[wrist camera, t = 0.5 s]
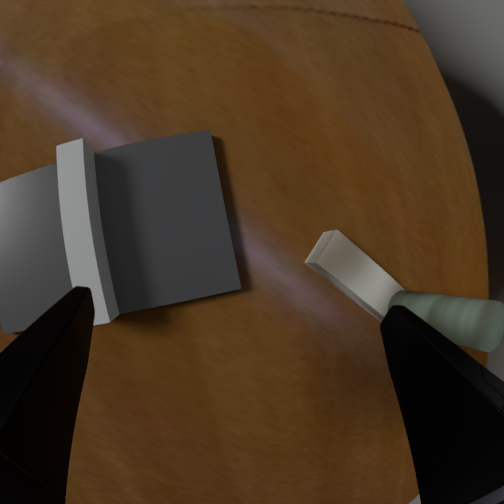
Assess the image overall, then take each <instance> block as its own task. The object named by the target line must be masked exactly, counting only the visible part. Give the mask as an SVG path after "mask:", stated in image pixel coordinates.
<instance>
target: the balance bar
mask: <svg viewBox="0 0 504 504" xmlns="http://www.w3.org/2000/svg"><path fill="white" fill-rule="evenodd" d="M304 263H305V264H307V265H308V266H309V267H311V268H312V269H313V270H315V271H316V272H317V273H318V274H320V275H321V276H322V277H324V278H325V279H326V280H328V281H329V282H330V283H331V284H333V285H334V286H335V287H337V288H338V289H339V290H341V291H342V292H343V293H344V294H346V295H347V296H348V297H349V298H351V299H352V300H353V301H355V302H356V303H357V304H358V305H360V306H361V307H362V308H364V309H365V310H366V311H367V312H369V313H370V314H371V315H372V316H374V317H375V318H376V319H378V320H379V321H380V322H382V320H383V318H384V317H385V315H386V313H387V312H388V310H389V308H390V307H391V306H392V305H403V306H405V307H406V308H408V309H409V310H411V311H412V312H413V313H415V314H416V315H417V316H419V317H420V318H421V319H423V320H424V321H425V322H427V323H428V324H429V325H431V326H432V327H433V328H435V329H436V330H437V331H439V332H440V333H441V334H443V335H444V336H445V337H447V338H448V339H449V340H451V341H452V342H453V343H454V344H458V345H462V346H465V347H469V348H473V349H477V350H480V351H484V352H492V351H493V350H495V349H496V348H497V346H498V345H499V343H500V341H501V339H502V337H503V333H504V305H503V304H502V303H501V302H499V301H492V300H483V299H474V298H465V297H457V296H448V295H440V294H431V293H423V292H415V291H407V290H405V289H404V288H403V287H402V286H401V285H399V284H398V283H397V282H396V281H395V280H394V279H393V278H392V277H391V276H390V275H389V274H387V273H386V272H385V271H384V270H383V269H382V268H381V267H380V266H379V265H377V264H376V263H375V262H374V261H373V260H372V259H371V258H370V257H368V256H367V255H366V254H365V253H364V252H363V251H362V250H360V249H359V248H358V247H357V246H356V245H355V244H353V243H352V242H351V241H350V240H349V239H348V238H346V237H345V236H344V235H343V234H342V233H340V232H339V231H338V230H332V231H327V232H323V234H322V236H321V237H320V239H319V240H318V242H317V243H316V245H315V247H314V248H313V250H312V251H311V253H310V254H309V256H308V258H307V259H306V261H305V262H304Z"/></svg>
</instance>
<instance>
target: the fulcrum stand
mask: <svg viewBox="0 0 504 504" xmlns="http://www.w3.org/2000/svg"><path fill="white" fill-rule="evenodd" d="M75 286H84V287H89V288H90V289H91V292H92V297H93V303H94V308H95V319H94V324H93V325H98V324H104V323H109V322H111V321H112V320H113V319H114V318H116V317H117V316H118V315H119V314H123V313H128V312H133V311H138V310H143V309H148V308H153V307H158V306H163V305H168V304H173V303H178V302H182V301H187V300H192V299H197V298H201V297H206V296H211V295H215V294H220V293H224V292H229V291H233V290H238V289H242V288H241V284H240V279H239V274H238V269H237V264H236V259H235V254H234V249H233V244H232V239H231V234H230V229H229V224H228V219H227V214H226V209H225V204H224V199H223V194H222V189H221V183H220V178H219V173H218V168H217V162H216V157H215V152H214V146H213V141H212V136H211V130H206V131H199V132H192V133H186V134H180V135H174V136H168V137H163V138H157V139H152V140H147V141H142V142H137V143H132V144H128V145H123V146H119V147H115V148H110V149H106V150H102V151H98V152H93V151H92V149H91V148H90V147H89V146H88V144H87V143H86V142H85V141H84V139H83V138H82V139H78V140H75V141H71V142H68V143H64V144H61V145H58V146H57V163H55V164H52V165H49V166H46V167H42V168H39V169H36V170H33V171H30V172H27V173H25V174H22V175H19V176H16V177H13V178H11V179H8V180H5V181H3V182H0V323H1V327H2V331H3V334H7V333H13V332H20V331H24V330H25V329H26V328H28V327H29V326H30V325H31V324H32V323H33V322H34V321H35V320H36V319H38V318H39V317H40V316H41V315H42V314H43V313H44V312H46V311H47V310H48V309H49V308H50V307H51V306H52V305H54V304H55V303H56V302H57V301H58V300H59V299H61V298H62V297H63V296H64V295H65V294H67V293H68V292H69V291H70V290H71V289H73V288H74V287H75Z"/></svg>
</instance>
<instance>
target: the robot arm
mask: <svg viewBox="0 0 504 504" xmlns="http://www.w3.org/2000/svg"><path fill="white" fill-rule="evenodd" d="M94 319H95V308H94V303H93V297H92V292H91V289H90V288H89V287H84V286H75V287H74V288H73V289H71V290H70V291H69V292H68V293H67V294H65V295H64V296H63V297H62V298H61V299H59V300H58V301H57V302H56V303H55V304H54V305H52V306H51V307H50V308H49V309H48V310H47V311H46V312H44V313H43V314H42V315H41V316H40V317H39V318H38V319H36V320H35V321H34V322H33V323H32V324H31V325H30V326H29V327H28V328H26V329H25V330H24V331H23V332H22V333H21V334H20V335H19V336H18V337H17V338H16V339H15V340H13V341H12V342H11V343H10V344H9V345H8V346H7V347H6V348H5V349H4V350H3V351H2V352H1V353H0V504H65V500H66V498H65V497H66V486H67V476H68V468H69V460H70V452H71V446H72V439H73V433H74V427H75V422H76V416H77V411H78V406H79V401H80V396H81V392H82V387H83V383H84V378H85V374H86V370H87V365H88V358H89V350H90V343H91V337H92V330H93V324H94ZM380 330H381V335H382V339H383V344H384V348H385V353H386V358H387V363H388V367H389V371H390V374H391V378H392V381H393V385H394V388H395V391H396V395H397V399H398V402H399V406H400V409H401V413H402V417H403V421H404V425H405V429H406V433H407V437H408V441H409V445H410V449H411V454H412V458H413V463H414V467H415V472H416V478H417V483H418V488H419V494H420V500H421V504H504V382H503V381H502V380H501V379H499V378H498V377H496V376H495V375H494V374H493V373H491V372H490V371H489V370H488V369H486V368H485V367H484V366H483V365H481V364H479V363H478V362H477V361H476V360H475V359H474V358H472V357H471V356H470V355H469V354H467V353H466V352H465V351H463V350H462V349H461V348H460V347H458V346H457V345H456V344H454V343H453V342H452V341H451V340H449V339H448V338H447V337H445V336H444V335H443V334H441V333H440V332H439V331H437V330H436V329H435V328H433V327H432V326H431V325H429V324H428V323H427V322H425V321H424V320H423V319H421V318H420V317H419V316H417V315H416V314H415V313H413V312H412V311H411V310H409V309H408V308H406V307H405V306H403V305H392V306H391V307H390V308H389V310H388V312H387V313H386V315H385V317H384V318H383V320H382V322H381V325H380Z"/></svg>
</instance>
